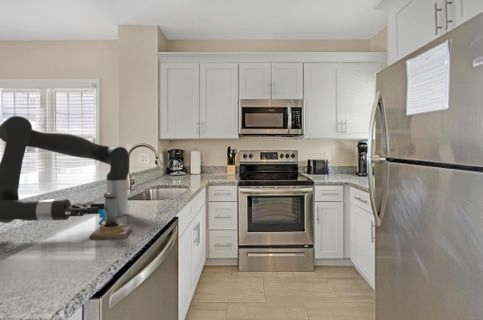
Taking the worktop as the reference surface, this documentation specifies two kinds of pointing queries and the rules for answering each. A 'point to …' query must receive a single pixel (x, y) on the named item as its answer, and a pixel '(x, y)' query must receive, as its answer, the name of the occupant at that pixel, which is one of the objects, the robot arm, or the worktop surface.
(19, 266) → the worktop surface
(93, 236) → the stand
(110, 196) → the pin
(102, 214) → the blue irregular figure
